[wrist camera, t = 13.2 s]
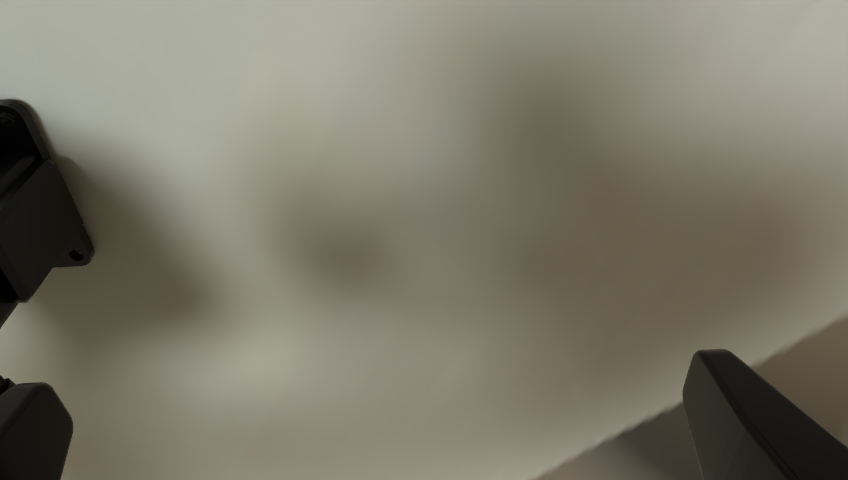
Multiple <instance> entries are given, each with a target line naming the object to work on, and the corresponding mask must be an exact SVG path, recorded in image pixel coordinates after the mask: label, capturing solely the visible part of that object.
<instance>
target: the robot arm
mask: <svg viewBox="0 0 848 480" xmlns="http://www.w3.org/2000/svg"><path fill="white" fill-rule="evenodd" d="M6 113H9V114H11V115H13V116H14V118H15V119H16V121H13V120H11V119H9V118H8V116H7V115H6ZM75 250H77V251H79V252H81V253H82V254H79V253H78V252H76V251H75ZM94 253H95V250H94V247H93V245H92V243H91V241H90V239H89V237H88V234H87V232H86V230H85V228H84V226H83V220H82V218H81V216H80V214H79V212H78V210H77V208H76V206H75V204H74V202H73V199H72V197H71V195H70V193H69V191H68V189H67V187H66V185H65V183H64V181H63V178H62V176H61V174H60V172H59V170H58V168H57V166H56V165H55V164H54V163H53V161H52V159H51V157H50V155H49V153H48V151H47V149H46V147H45V145H44V143H43V140H42V138H41V136H40V134H39V132H38V130H37V128H36V126H35V124H34V122H33V120H32V118H31V115H30V113H29V112H28V110H27V109H26V108H25V107H24V106H23V105H21V104H20V103H18V102H16V101H13V100H0V328H1V327H2V325H3V324H4V323H5V321H6V320H7V318H8V317H9V316H10V314H11V313H12V312H13V310H14V309H15V307H16V306H17V305H18V303H27V302H28V301H29V300H30V299H31V297H32V296H33V294H34V293H35V292H36V290H37V289H38V287H39V286H40V285H41V283H42V282H43V280H44V279H45V278H46V276H47V275H48V273H49V272H50V270H51V269H52V268H53V267H70V266H83V265H87V264H88V263H89V262H90V261H91V259H92V258H93V256H94ZM683 403H684V408H685V412H686V415H687V419H688V423H689V427H690V431H691V434H692V438H693V442H694V446H695V449H696V453H697V457H698V461H699V465H700V469H701V473H702V476H703V480H848V447H847V446H846V445H844V444H843V443H842V442H841V441H840V440H838V439H837V438H836V437H835V436H834V435H832V434H831V433H830V432H829V431H827V430H826V429H825V428H824V427H823V426H821V425H820V424H819V423H818V422H816V421H815V420H814V419H813V418H811V417H810V416H809V415H808V414H807V413H805V412H804V411H803V410H802V409H800V408H799V407H798V406H797V405H796V404H794V403H793V402H792V401H791V400H789V399H788V398H787V397H786V396H784V395H783V394H782V393H781V392H780V391H778V390H777V389H776V388H775V387H773V386H772V385H771V384H770V383H768V382H767V381H766V380H765V379H764V378H762V377H761V376H760V375H759V374H758V373H756V372H755V371H754V370H753V369H751V368H750V367H749V366H748V365H746V364H745V363H744V362H743V361H742V360H740V359H739V358H738V357H737V356H735V355H734V354H733V353H732V352H730V351H728V350H725V349H713V350H699V351H697V352H696V353H695V354H694V355H693V358H692V360H691V364H690V367H689V370H688V374H687V377H686V380H685V384H684V387H683ZM72 434H73V421H72V418H71V416H70V414H69V412H68V411H67V409H66V408H65V406H64V405H63V403H62V402H61V400H60V398H59V397H58V395H57V394H56V392H55V391H54V389H53V388H52V387H51V386H50V385H49V384H47V383H43V382H40V383H22V384H17V385H16V384H15V383H14V382H12V381H11V380H10V379H9V378H7V379H4V378H3V377H2V376H0V480H60V479H61V475H62V472H63V468H64V464H65V461H66V457H67V453H68V449H69V446H70V442H71V438H72Z"/></svg>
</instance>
